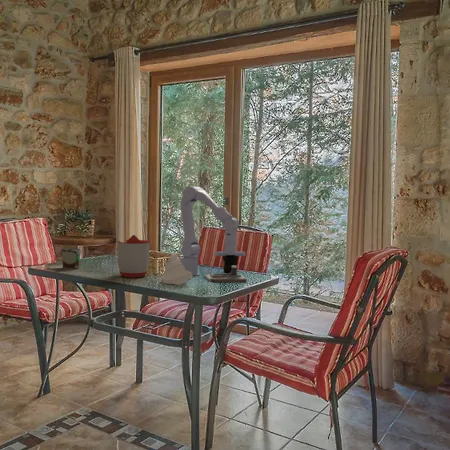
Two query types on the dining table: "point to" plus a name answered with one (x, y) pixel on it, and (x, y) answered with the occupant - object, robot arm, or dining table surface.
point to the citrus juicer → (133, 257)
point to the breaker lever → (233, 270)
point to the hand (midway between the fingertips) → (229, 270)
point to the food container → (70, 257)
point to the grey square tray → (228, 280)
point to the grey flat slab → (223, 276)
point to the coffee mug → (225, 264)
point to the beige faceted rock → (175, 272)
